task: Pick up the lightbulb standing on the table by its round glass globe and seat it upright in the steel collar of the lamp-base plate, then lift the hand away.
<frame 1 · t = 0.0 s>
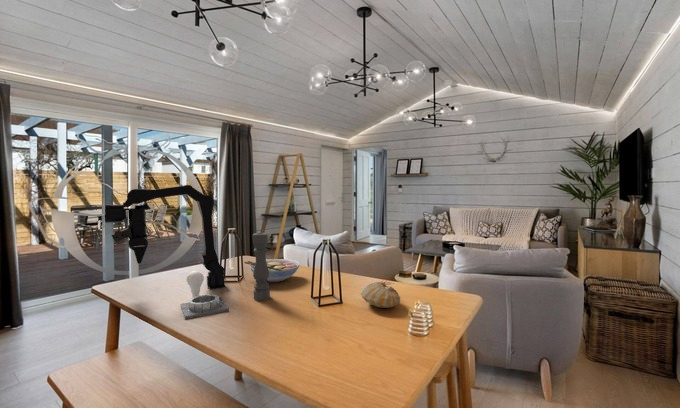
hand: (139, 261, 134), 15 cm above the table, tool pointing down, fingers open, 9 cm apart
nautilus: (384, 304, 125), on the table
bulb socket: (204, 308, 122), on the table
lightbulb: (196, 299, 133), on the table
candle holder: (262, 298, 133), on the table
ramen bowl: (275, 280, 158), on the table
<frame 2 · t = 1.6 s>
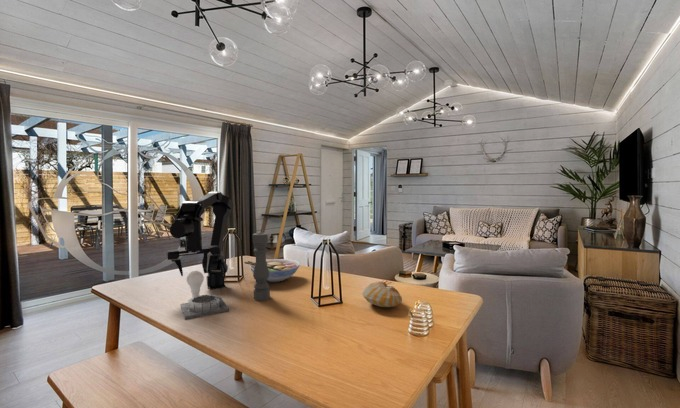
hand: (195, 274, 133), 10 cm above the table, tool pointing down, fingers open, 9 cm apart
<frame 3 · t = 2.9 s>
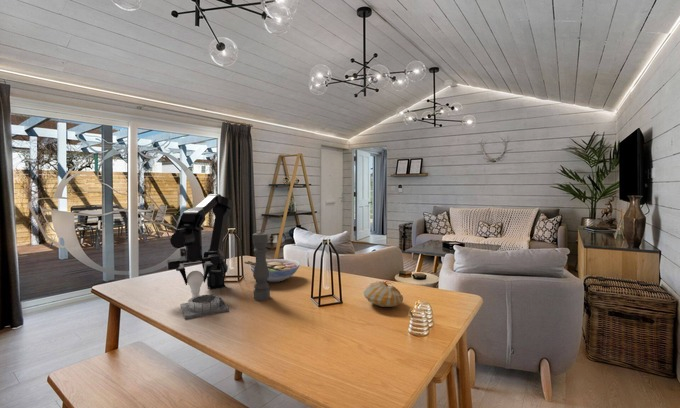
hand: (195, 283, 133), 6 cm above the table, tool pointing down, fingers closed on lightbulb, 6 cm apart
lightbulb: (196, 299, 133), on the table, touching gripper
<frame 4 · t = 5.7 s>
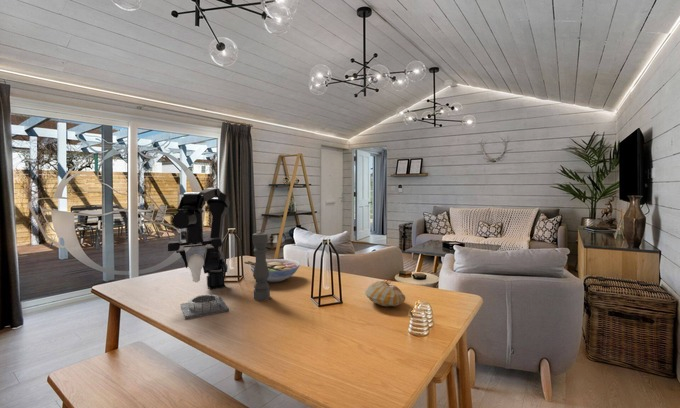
hand: (195, 266, 130), 13 cm above the table, tool pointing down, fingers closed on lightbulb, 6 cm apart
lightbulb: (196, 283, 130), point 7 cm above the table, touching gripper
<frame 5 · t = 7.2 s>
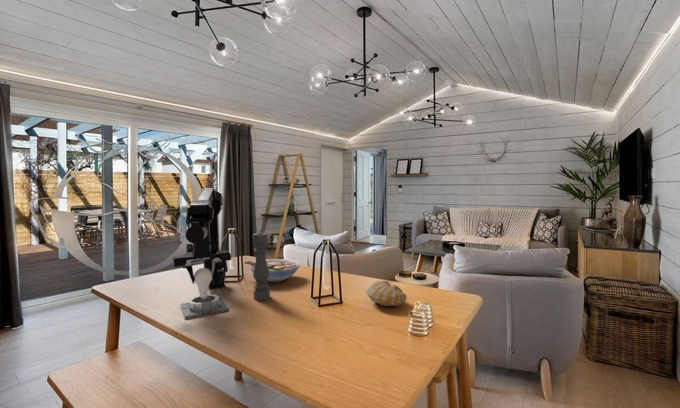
hand: (203, 282, 122), 10 cm above the table, tool pointing down, fingers closed on lightbulb, 6 cm apart
lightbulb: (203, 299, 122), point 3 cm above the table, touching gripper
when the fingers open (8 cm above the table, at t = 8.4 s): lightbulb stays where it is, resting on bulb socket.
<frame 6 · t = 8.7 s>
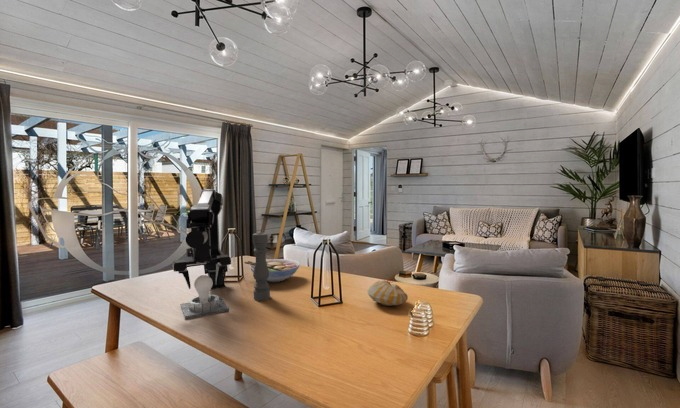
hand: (203, 286, 122), 8 cm above the table, tool pointing down, fingers open, 9 cm apart
lightbulb: (204, 306, 122), point 1 cm above the table, touching bulb socket
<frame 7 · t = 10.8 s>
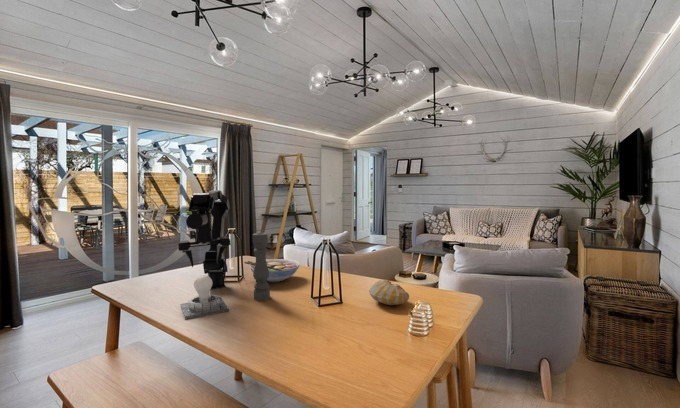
hand: (205, 265, 134), 13 cm above the table, tool pointing down, fingers open, 9 cm apart
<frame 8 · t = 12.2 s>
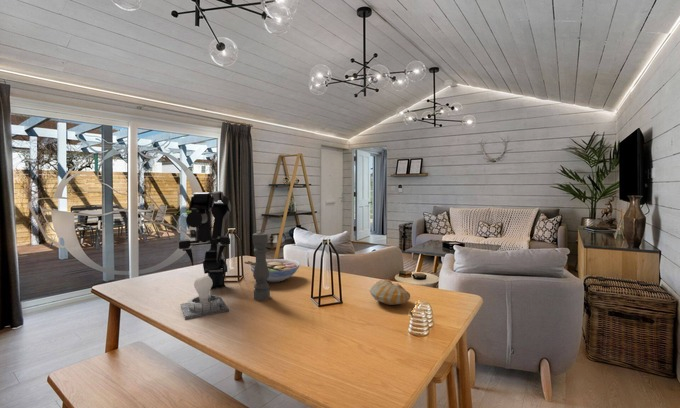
hand: (205, 263, 135), 13 cm above the table, tool pointing down, fingers open, 9 cm apart
at the end: lightbulb 0.1 cm off-centre on the bulb socket, point 0.8 cm above the bulb socket's base; lightbulb tilted 1°; the gripper is holding nothing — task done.
